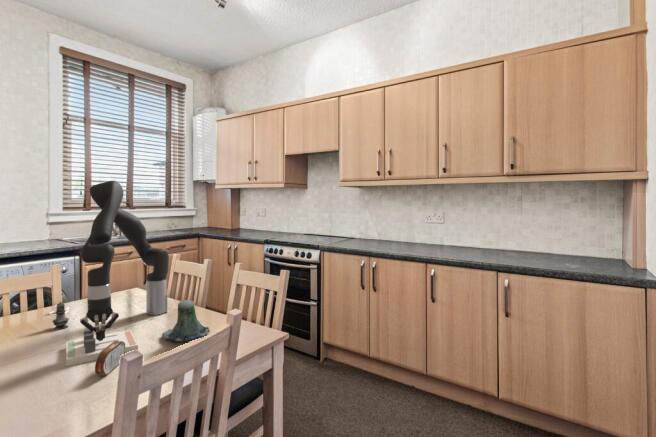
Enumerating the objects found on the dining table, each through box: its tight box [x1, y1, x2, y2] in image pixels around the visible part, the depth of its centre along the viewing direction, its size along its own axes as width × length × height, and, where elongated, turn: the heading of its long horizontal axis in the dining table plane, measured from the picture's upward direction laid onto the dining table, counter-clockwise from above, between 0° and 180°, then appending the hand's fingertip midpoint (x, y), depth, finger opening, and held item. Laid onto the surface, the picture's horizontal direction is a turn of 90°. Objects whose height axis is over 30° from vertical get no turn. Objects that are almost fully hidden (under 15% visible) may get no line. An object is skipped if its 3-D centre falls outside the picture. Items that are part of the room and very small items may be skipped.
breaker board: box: [65, 329, 139, 367], centre depth 133 cm, size 22×18×3 cm
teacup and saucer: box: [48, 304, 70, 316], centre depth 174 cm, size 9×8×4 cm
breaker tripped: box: [83, 332, 95, 347], centre depth 131 cm, size 3×2×4 cm
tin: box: [94, 341, 126, 376], centre depth 119 cm, size 15×3×8 cm, turn 5°
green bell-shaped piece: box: [161, 299, 211, 345], centre depth 147 cm, size 19×21×19 cm
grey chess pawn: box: [52, 301, 70, 331], centre depth 154 cm, size 6×6×12 cm
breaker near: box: [85, 338, 95, 353], centre depth 126 cm, size 3×2×4 cm
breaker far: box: [83, 328, 94, 336], centre depth 136 cm, size 3×2×4 cm
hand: (100, 340), depth 133 cm, fingers closed
